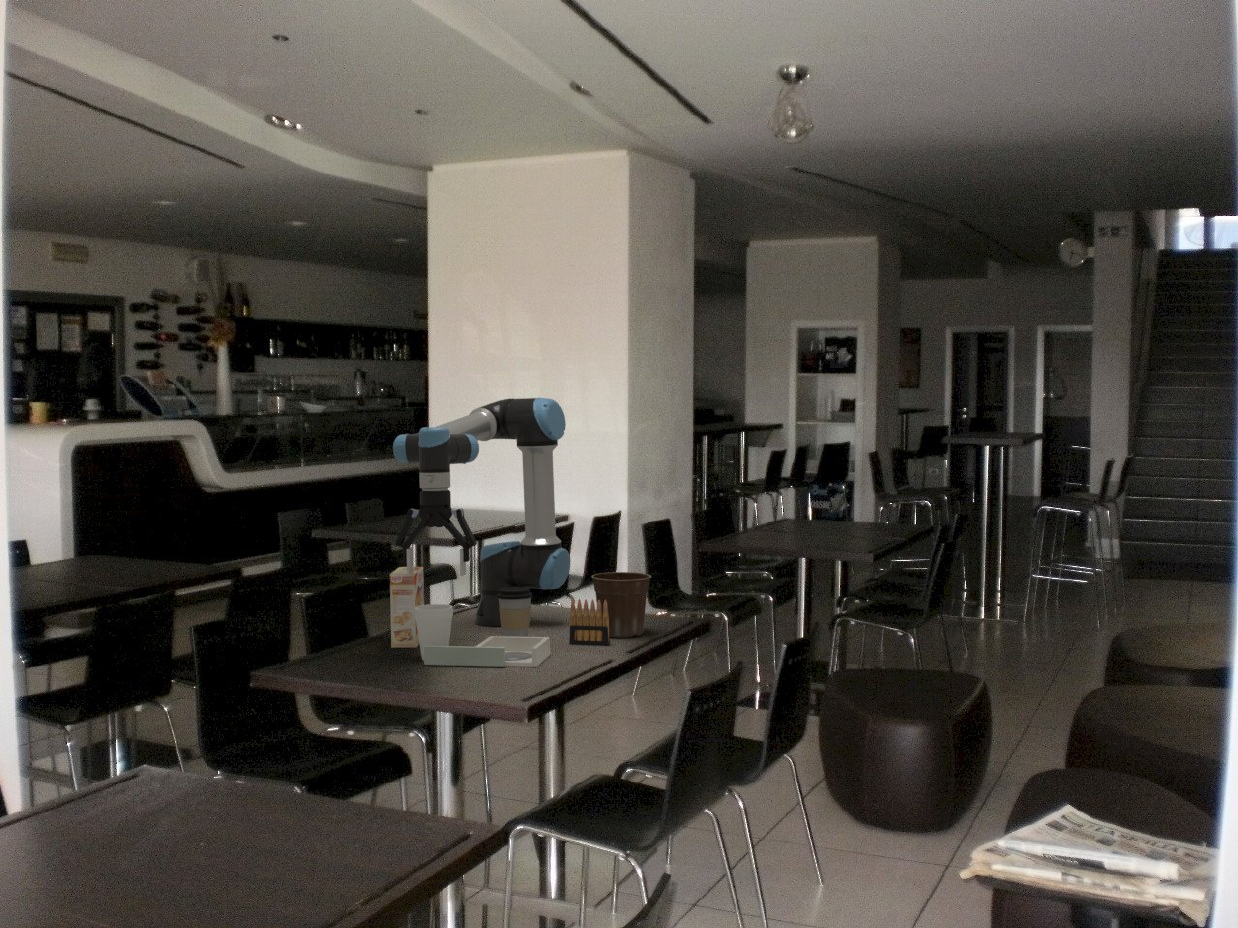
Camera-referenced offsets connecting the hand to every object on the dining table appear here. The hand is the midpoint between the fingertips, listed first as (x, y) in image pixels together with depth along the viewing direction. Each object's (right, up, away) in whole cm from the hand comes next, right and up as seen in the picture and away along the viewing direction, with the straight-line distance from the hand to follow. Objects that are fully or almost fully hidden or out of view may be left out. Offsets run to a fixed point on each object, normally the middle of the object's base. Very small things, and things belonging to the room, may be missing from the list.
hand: (436, 574), depth 307 cm
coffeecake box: (-11, -20, +23) cm, 33 cm away
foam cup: (-1, -21, +1) cm, 21 cm away
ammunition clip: (+38, -20, +17) cm, 46 cm away
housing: (+19, -21, -2) cm, 28 cm away
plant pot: (+46, -19, +31) cm, 59 cm away
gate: (+8, -21, -8) cm, 24 cm away
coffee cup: (+18, -20, +16) cm, 32 cm away
